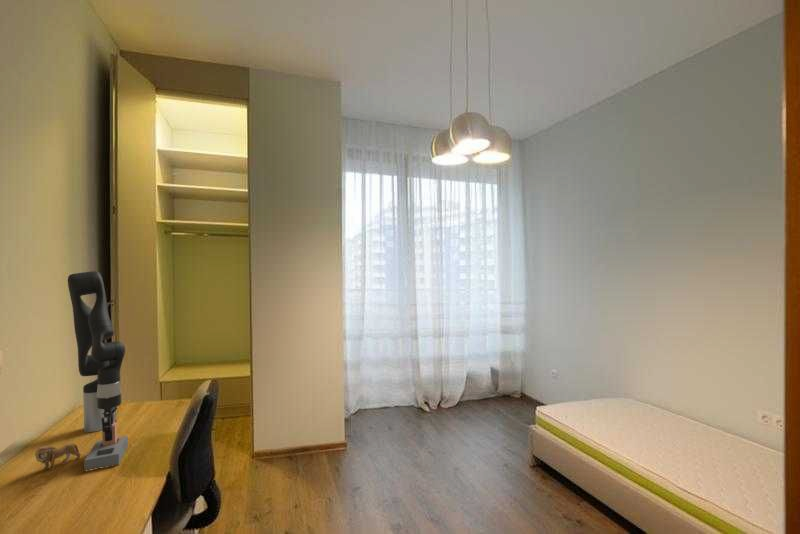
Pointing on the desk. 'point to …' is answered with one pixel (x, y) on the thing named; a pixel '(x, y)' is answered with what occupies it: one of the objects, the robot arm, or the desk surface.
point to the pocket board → (106, 454)
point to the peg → (114, 436)
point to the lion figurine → (56, 454)
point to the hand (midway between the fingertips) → (109, 438)
